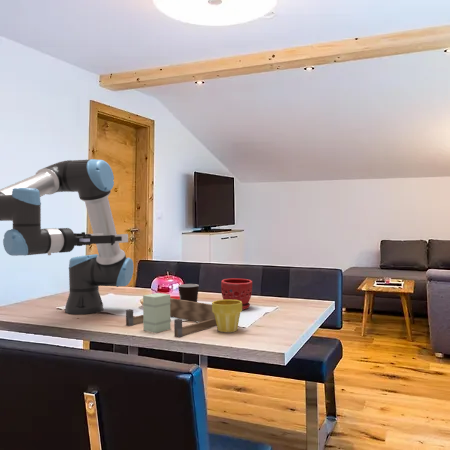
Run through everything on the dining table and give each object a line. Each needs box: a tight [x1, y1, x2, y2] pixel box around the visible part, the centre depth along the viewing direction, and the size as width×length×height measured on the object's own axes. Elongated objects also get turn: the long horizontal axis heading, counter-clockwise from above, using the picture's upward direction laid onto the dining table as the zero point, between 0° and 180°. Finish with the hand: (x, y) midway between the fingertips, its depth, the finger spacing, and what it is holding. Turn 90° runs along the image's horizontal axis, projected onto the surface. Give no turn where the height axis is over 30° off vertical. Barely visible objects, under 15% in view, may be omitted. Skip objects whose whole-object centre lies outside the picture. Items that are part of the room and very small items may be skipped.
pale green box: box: [142, 292, 172, 334], centre depth 159 cm, size 6×7×12 cm
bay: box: [125, 297, 217, 338], centre depth 165 cm, size 27×21×7 cm
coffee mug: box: [177, 283, 200, 302], centre depth 194 cm, size 12×9×10 cm
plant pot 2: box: [211, 299, 243, 333], centre depth 157 cm, size 10×10×10 cm
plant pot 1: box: [220, 277, 253, 311], centre depth 194 cm, size 13×13×12 cm
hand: (114, 237), depth 157 cm, fingers open, 13 cm apart
